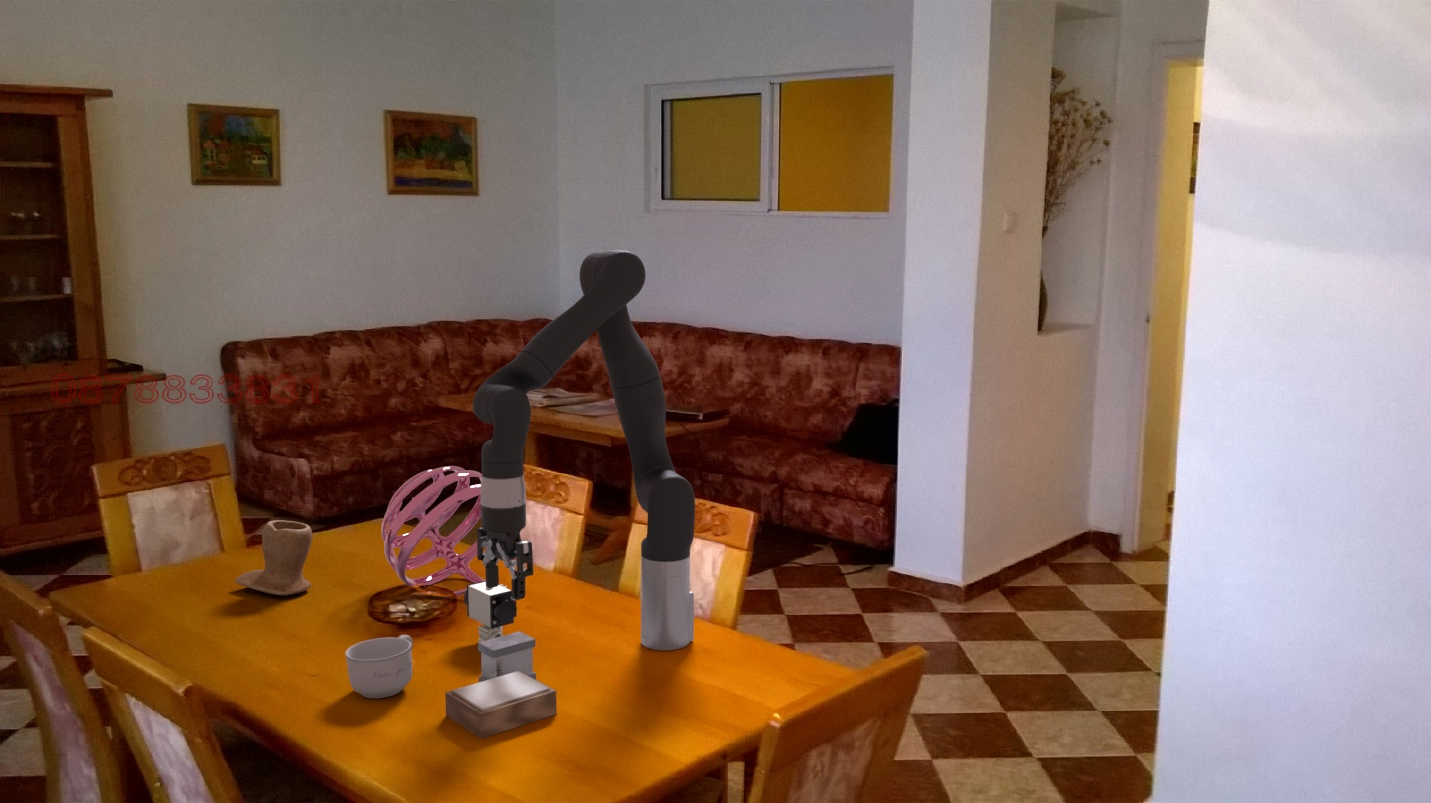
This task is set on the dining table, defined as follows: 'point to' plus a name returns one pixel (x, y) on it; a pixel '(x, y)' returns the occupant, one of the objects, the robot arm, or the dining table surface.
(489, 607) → the pneumatic valve
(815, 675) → the dining table surface
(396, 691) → the teacup
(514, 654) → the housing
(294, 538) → the brown top hat
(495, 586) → the robot arm
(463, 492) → the spiral basket
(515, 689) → the stand
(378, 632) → the dining table surface
